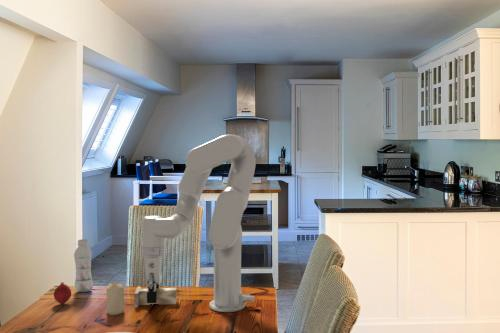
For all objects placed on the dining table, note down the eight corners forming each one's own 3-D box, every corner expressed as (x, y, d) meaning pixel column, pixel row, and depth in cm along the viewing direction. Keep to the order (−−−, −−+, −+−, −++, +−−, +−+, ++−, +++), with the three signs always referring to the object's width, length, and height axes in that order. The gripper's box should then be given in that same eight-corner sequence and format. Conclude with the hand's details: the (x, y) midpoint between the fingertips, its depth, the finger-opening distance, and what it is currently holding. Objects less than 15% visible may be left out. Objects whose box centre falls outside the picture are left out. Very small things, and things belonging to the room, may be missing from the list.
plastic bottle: (89, 294, 183) (89, 241, 182) (71, 294, 183) (71, 241, 182) (95, 289, 189) (94, 238, 188) (78, 289, 189) (77, 238, 188)
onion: (74, 304, 172) (74, 281, 172) (58, 308, 168) (58, 285, 167) (66, 300, 176) (66, 278, 176) (51, 304, 172) (50, 282, 171)
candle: (119, 315, 161) (118, 285, 160) (104, 314, 162) (103, 284, 161) (126, 309, 166) (126, 281, 166) (111, 308, 167) (111, 280, 167)
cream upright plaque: (177, 299, 178) (176, 285, 178) (175, 306, 170) (175, 292, 170) (137, 300, 176) (137, 286, 176) (134, 307, 168) (134, 293, 168)
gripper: (161, 256, 164) (161, 306, 165) (165, 245, 181) (165, 290, 182) (139, 256, 163) (139, 306, 164) (145, 245, 180) (145, 291, 181)
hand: (153, 298), depth 173 cm, fingers open, 9 cm apart
